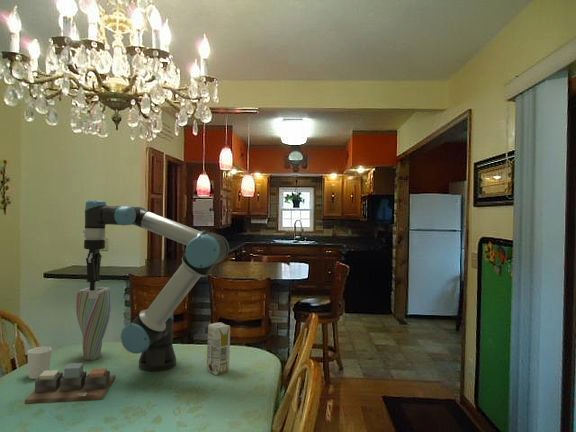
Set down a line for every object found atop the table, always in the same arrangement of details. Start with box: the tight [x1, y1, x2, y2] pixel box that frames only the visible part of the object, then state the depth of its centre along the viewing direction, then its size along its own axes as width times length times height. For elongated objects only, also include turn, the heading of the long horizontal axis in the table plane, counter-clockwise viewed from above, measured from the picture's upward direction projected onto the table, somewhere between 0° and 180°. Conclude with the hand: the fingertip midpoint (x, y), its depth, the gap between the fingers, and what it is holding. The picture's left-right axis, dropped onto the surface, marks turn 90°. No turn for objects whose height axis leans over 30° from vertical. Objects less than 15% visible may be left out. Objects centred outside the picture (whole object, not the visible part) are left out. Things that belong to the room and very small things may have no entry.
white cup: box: [27, 346, 52, 380], centre depth 155 cm, size 8×8×10 cm
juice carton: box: [206, 322, 231, 376], centre depth 165 cm, size 8×9×19 cm
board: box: [24, 370, 116, 404], centre depth 144 cm, size 24×18×5 cm
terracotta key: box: [88, 367, 108, 378], centre depth 145 cm, size 5×5×5 cm
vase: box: [75, 286, 112, 361], centre depth 177 cm, size 14×14×30 cm
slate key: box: [63, 362, 84, 379], centre depth 144 cm, size 5×5×5 cm
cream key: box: [39, 369, 60, 380], centre depth 142 cm, size 5×5×5 cm
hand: (92, 298), depth 161 cm, fingers closed
